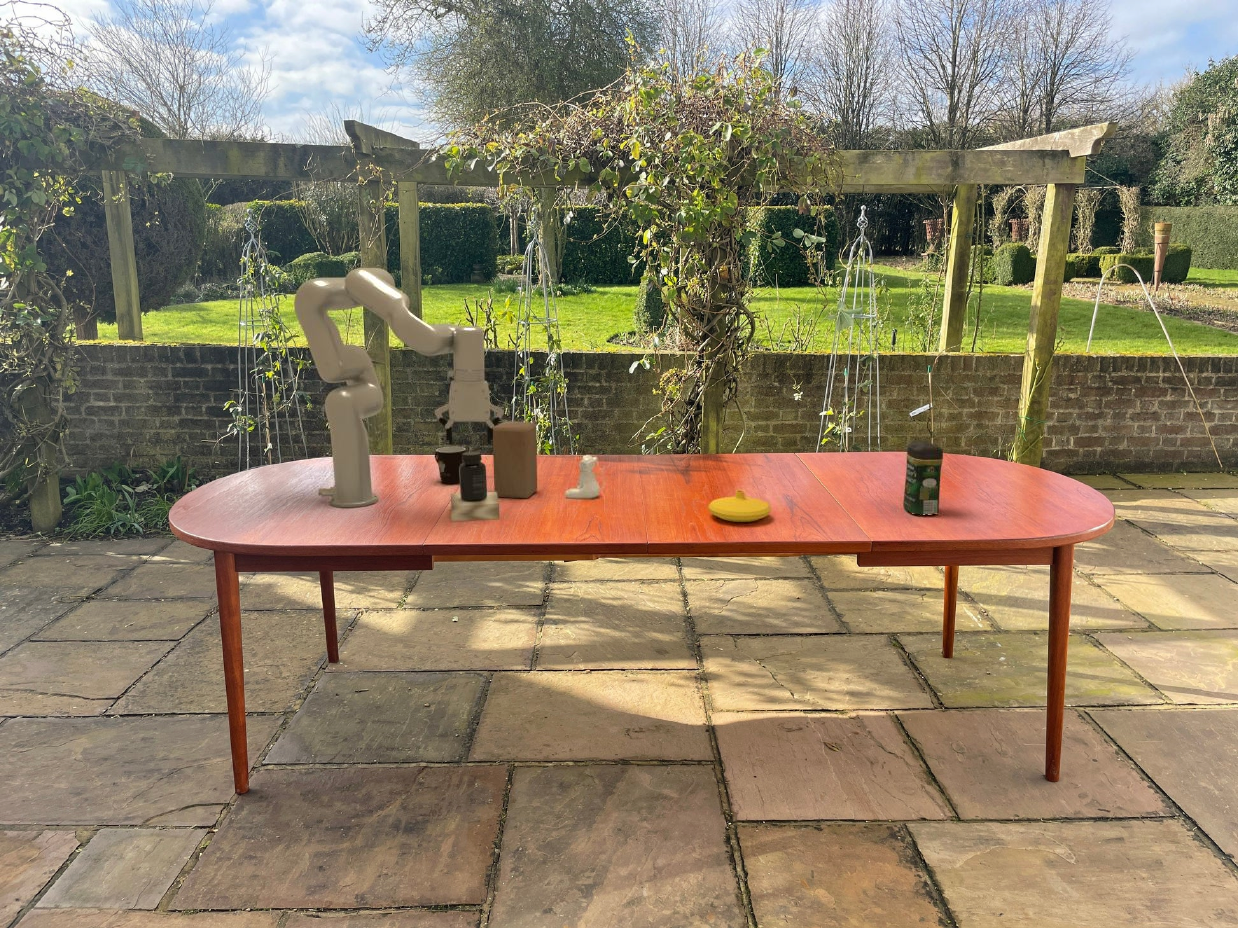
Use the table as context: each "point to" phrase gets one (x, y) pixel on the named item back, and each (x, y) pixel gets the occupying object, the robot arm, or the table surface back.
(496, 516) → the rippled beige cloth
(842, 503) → the table surface
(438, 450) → the coffee mug
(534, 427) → the block
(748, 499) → the vase
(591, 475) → the seated beast figurine
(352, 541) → the table surface
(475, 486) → the supplement bottle
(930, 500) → the coffee jar
